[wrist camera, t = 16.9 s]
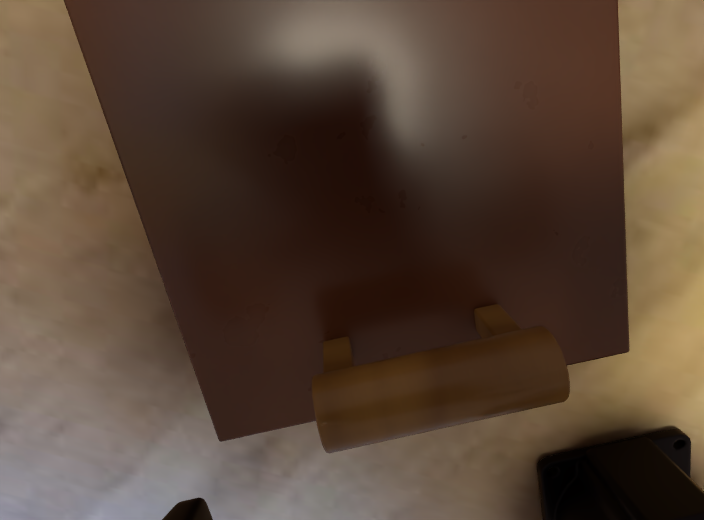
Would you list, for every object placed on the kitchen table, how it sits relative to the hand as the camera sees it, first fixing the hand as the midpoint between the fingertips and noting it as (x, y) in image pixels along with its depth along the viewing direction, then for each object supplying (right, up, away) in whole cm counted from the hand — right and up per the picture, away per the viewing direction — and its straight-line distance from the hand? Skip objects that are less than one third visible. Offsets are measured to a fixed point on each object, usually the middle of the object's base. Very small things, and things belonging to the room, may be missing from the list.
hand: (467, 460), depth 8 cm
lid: (-1, +5, +4) cm, 6 cm away
